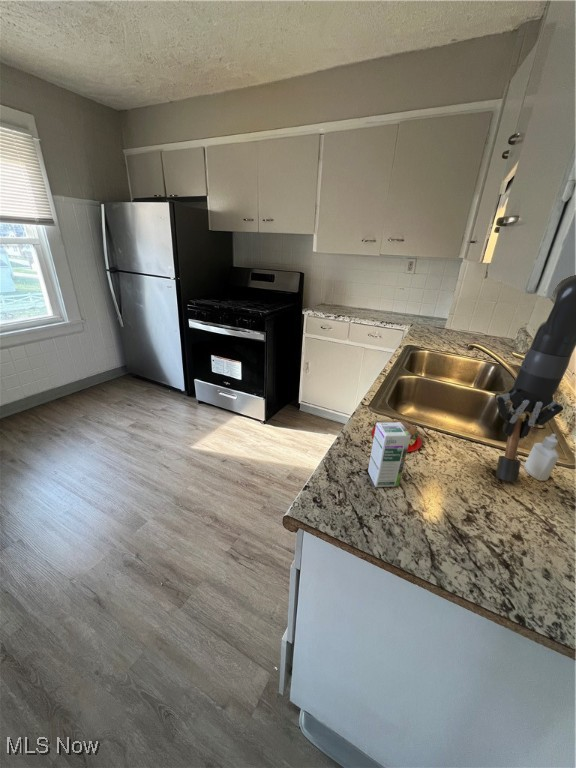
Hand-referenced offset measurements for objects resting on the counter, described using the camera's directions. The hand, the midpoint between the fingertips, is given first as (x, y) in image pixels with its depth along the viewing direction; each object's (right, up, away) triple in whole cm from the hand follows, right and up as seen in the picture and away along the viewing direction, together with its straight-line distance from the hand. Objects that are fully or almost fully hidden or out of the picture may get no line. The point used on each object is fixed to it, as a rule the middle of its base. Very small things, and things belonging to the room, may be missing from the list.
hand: (513, 434), depth 76 cm
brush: (-2, -11, 0) cm, 11 cm away
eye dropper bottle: (+8, -11, +4) cm, 14 cm away
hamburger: (-23, -3, +15) cm, 28 cm away
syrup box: (-32, -11, 0) cm, 34 cm away
